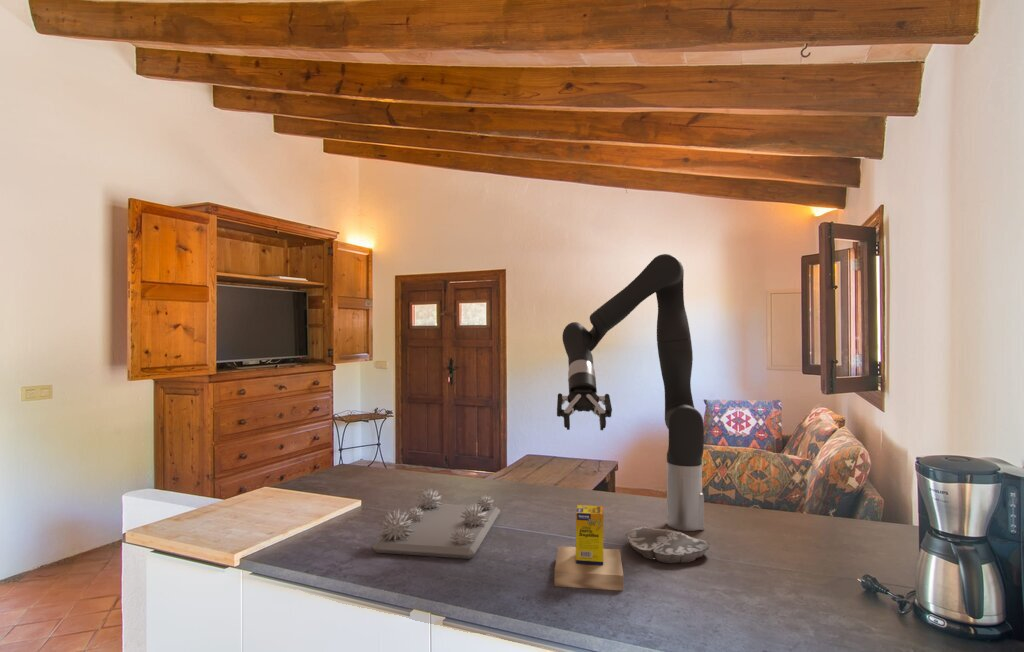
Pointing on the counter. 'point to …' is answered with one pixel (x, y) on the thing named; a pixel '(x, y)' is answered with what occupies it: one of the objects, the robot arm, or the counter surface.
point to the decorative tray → (437, 528)
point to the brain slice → (666, 544)
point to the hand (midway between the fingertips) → (585, 428)
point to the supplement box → (589, 535)
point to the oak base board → (589, 570)
